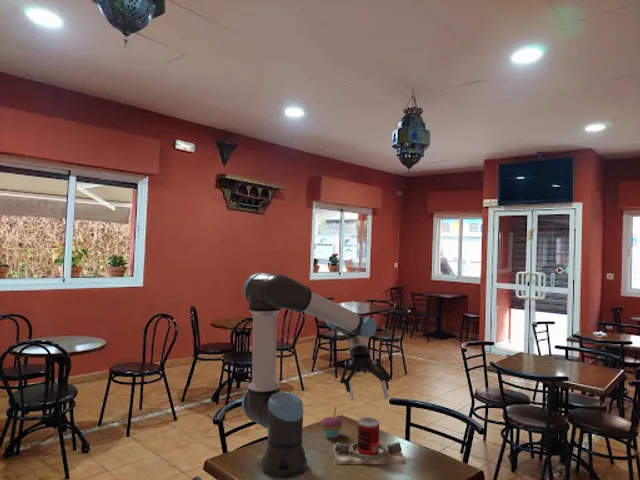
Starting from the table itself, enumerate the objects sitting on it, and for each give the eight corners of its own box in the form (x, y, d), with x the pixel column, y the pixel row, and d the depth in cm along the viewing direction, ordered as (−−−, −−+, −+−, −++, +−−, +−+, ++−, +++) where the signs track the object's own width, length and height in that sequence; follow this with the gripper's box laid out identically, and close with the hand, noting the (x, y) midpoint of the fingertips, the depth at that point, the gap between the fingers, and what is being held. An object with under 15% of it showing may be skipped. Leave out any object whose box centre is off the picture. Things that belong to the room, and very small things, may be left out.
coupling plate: (336, 464, 152) (336, 450, 152) (333, 448, 165) (333, 435, 165) (405, 464, 153) (405, 450, 154) (397, 448, 166) (397, 435, 166)
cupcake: (345, 434, 178) (346, 404, 178) (335, 442, 170) (335, 410, 171) (327, 429, 182) (327, 400, 182) (316, 436, 175) (316, 406, 175)
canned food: (378, 448, 163) (378, 417, 163) (379, 458, 155) (379, 426, 155) (357, 447, 164) (358, 416, 164) (357, 456, 156) (357, 425, 156)
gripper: (385, 354, 187) (398, 402, 172) (328, 355, 182) (335, 404, 167) (390, 344, 182) (403, 392, 167) (331, 345, 177) (339, 394, 162)
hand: (369, 398), depth 167 cm, fingers open, 13 cm apart
